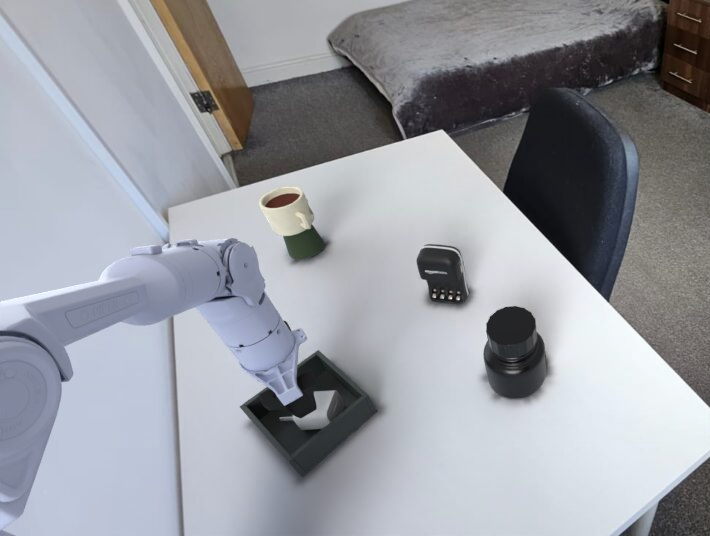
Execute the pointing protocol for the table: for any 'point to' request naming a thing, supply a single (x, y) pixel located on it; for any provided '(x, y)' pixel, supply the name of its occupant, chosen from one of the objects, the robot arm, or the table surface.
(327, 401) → the usb wall charger
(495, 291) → the table surface
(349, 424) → the open storage tray
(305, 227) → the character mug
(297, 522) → the table surface
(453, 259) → the battery charger
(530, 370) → the ink bottle
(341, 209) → the table surface
